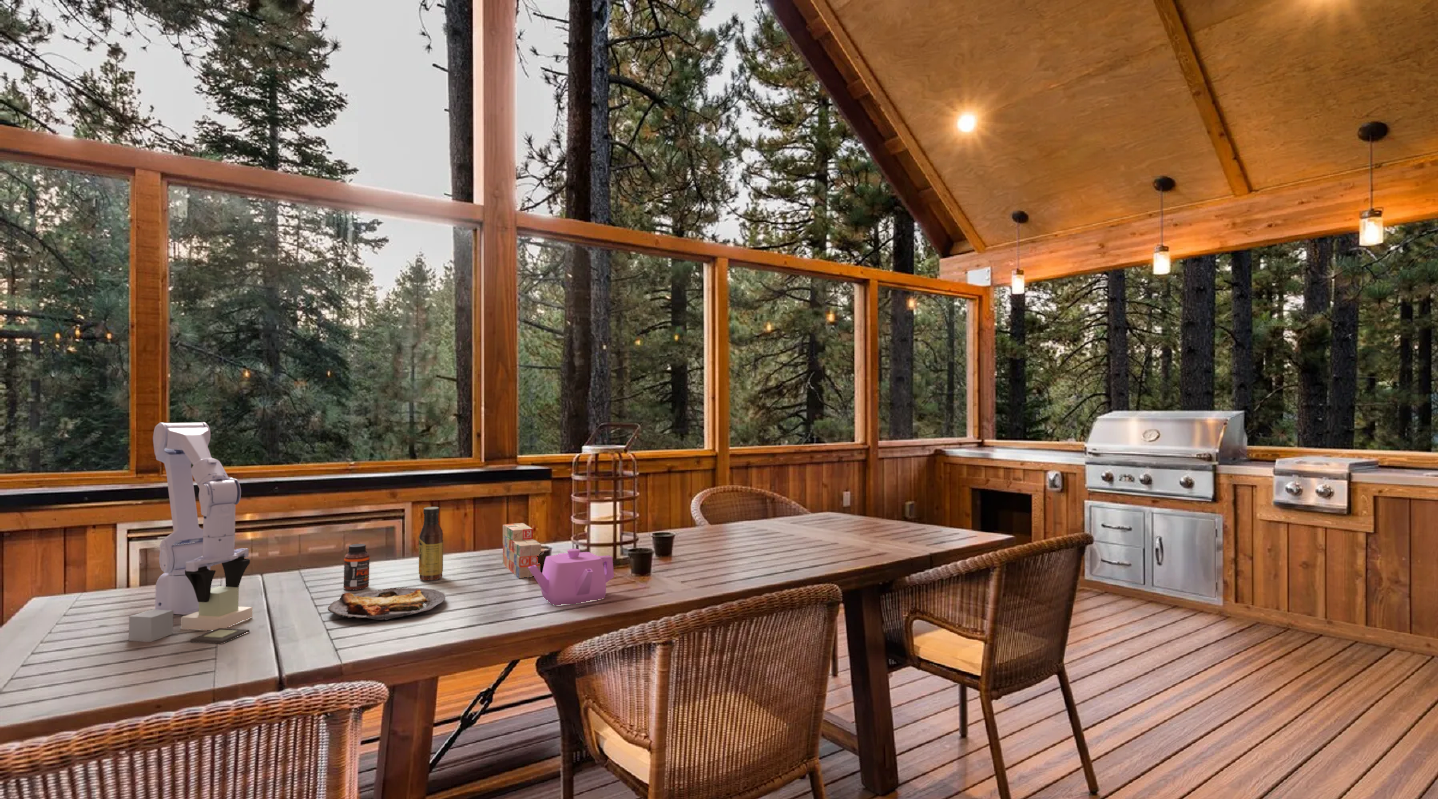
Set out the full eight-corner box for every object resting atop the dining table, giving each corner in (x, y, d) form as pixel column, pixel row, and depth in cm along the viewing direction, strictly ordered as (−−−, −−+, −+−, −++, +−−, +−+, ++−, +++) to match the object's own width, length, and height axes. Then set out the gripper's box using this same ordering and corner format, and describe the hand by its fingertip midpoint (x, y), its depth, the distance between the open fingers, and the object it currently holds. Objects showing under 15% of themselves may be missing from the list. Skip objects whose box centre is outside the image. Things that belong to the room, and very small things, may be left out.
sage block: (198, 615, 151) (199, 592, 151) (218, 608, 156) (219, 586, 156) (218, 616, 150) (219, 593, 150) (238, 610, 155) (238, 587, 155)
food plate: (322, 629, 150) (323, 612, 150) (332, 602, 171) (333, 587, 171) (447, 618, 160) (447, 603, 160) (442, 594, 182) (442, 580, 182)
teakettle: (616, 592, 183) (617, 544, 183) (590, 610, 167) (591, 558, 167) (556, 587, 187) (557, 541, 187) (525, 605, 170) (526, 554, 170)
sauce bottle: (423, 576, 197) (424, 505, 197) (445, 576, 198) (446, 505, 198) (414, 582, 191) (416, 509, 191) (438, 581, 191) (439, 509, 191)
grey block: (128, 641, 142) (129, 616, 142) (151, 633, 147) (151, 609, 147) (150, 642, 142) (151, 617, 142) (172, 634, 146) (173, 610, 147)
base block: (180, 631, 150) (181, 617, 150) (216, 618, 159) (216, 605, 159) (218, 633, 148) (219, 619, 149) (252, 620, 157) (252, 607, 157)
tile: (190, 641, 142) (190, 637, 142) (219, 630, 148) (219, 627, 148) (222, 643, 141) (222, 639, 141) (249, 632, 148) (249, 628, 148)
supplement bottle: (358, 591, 180) (358, 547, 181) (338, 590, 182) (338, 546, 182) (374, 586, 186) (374, 543, 186) (354, 584, 188) (355, 542, 188)
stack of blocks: (540, 576, 199) (541, 533, 199) (518, 579, 196) (519, 535, 196) (522, 561, 217) (523, 522, 218) (502, 563, 214) (502, 523, 214)
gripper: (207, 541, 146) (206, 607, 146) (261, 529, 160) (260, 589, 160) (177, 540, 147) (176, 605, 147) (233, 528, 161) (232, 587, 161)
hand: (218, 596), depth 154 cm, fingers open, 7 cm apart
